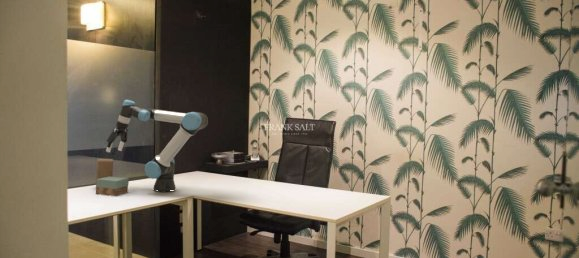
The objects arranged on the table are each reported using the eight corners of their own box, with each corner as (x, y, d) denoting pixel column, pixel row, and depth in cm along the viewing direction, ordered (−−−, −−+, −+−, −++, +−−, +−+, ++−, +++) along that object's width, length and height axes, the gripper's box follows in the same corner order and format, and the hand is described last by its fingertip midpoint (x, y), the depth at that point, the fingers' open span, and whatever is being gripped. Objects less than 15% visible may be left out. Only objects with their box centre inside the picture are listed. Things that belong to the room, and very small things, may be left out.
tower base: (127, 193, 288) (127, 185, 288) (115, 196, 274) (115, 188, 274) (108, 191, 291) (109, 183, 290) (95, 194, 277) (96, 186, 277)
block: (111, 189, 294) (113, 160, 293) (95, 189, 290) (97, 160, 290) (111, 187, 303) (113, 158, 303) (96, 187, 300) (97, 158, 299)
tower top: (128, 185, 288) (128, 178, 288) (116, 188, 274) (116, 181, 274) (109, 183, 290) (109, 176, 290) (96, 186, 277) (96, 179, 277)
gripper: (128, 120, 306) (119, 148, 308) (107, 120, 282) (97, 150, 284) (137, 123, 305) (128, 151, 307) (117, 124, 281) (107, 154, 282)
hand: (113, 151), depth 295 cm, fingers open, 13 cm apart
